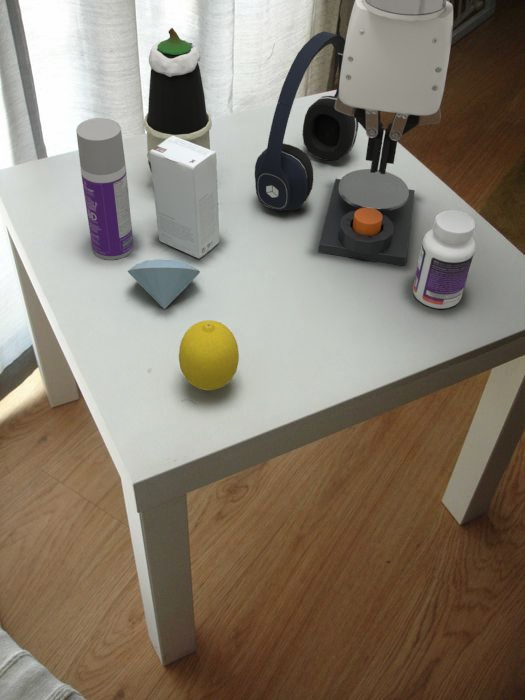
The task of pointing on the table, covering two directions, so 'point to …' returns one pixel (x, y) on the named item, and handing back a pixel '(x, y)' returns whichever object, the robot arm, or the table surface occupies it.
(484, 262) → the table surface
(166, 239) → the cosmetic box
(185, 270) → the gemstone
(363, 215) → the tare button
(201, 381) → the lemon
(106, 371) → the table surface
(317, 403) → the table surface
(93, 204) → the container
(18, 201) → the table surface
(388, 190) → the scale pan
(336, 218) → the scale
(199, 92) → the toy
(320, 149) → the earphone
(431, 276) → the pill bottle
